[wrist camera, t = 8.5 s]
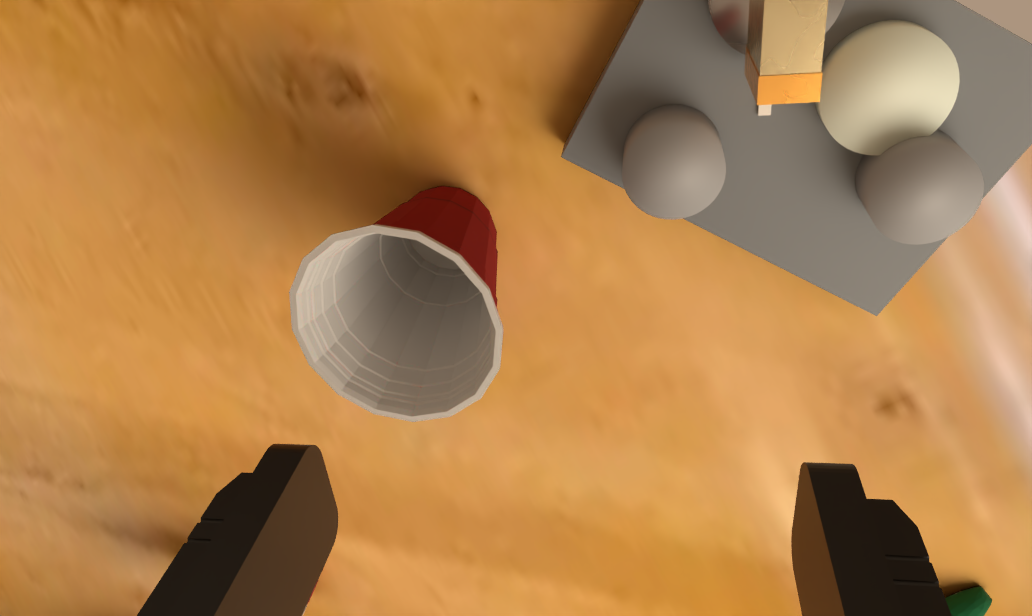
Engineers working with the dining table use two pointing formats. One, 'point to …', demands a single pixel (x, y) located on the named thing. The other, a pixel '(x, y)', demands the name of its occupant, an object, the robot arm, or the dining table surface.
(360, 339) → the plastic cup
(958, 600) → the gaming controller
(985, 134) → the base
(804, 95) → the wing knob
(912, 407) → the dining table surface
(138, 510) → the dining table surface
